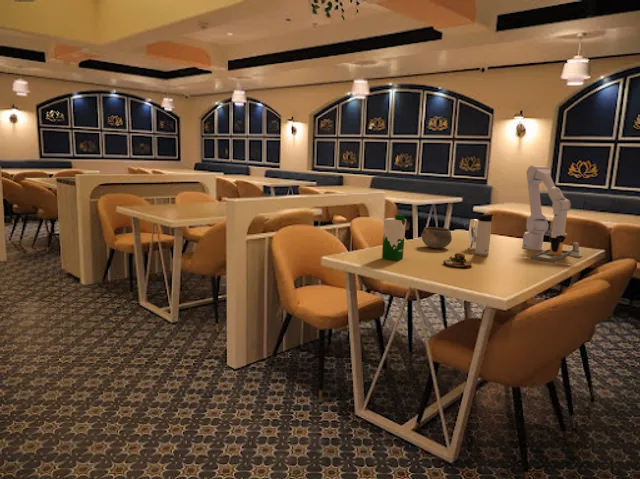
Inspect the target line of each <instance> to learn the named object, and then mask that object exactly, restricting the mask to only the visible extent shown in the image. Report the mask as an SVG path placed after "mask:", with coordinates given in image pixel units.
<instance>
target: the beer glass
mask: <svg viewBox="0 0 640 479" xmlns="http://www.w3.org/2000/svg"><path fill="white" fill-rule="evenodd" d="M478 219H479V218H478ZM478 219H477V218H476V219H475V218H473V219H472V218H471V219H470V221H469V227H468V234H469V242H468V243H469V244H468V247H467V248H468V249H469V250H474V251H475V247H476V237H477V227H478Z"/></svg>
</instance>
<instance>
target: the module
mask: <svg viewBox="0 0 640 479" xmlns="http://www.w3.org/2000/svg"><path fill="white" fill-rule="evenodd" d="M563 246H564V242H563V243H562V242H560V244H559V247H558V250H557V252H555V251H552V246H551V245H550V248H549V249H550V254H555V255H562V250H563V248H564V247H563Z"/></svg>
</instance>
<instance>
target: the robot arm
mask: <svg viewBox="0 0 640 479" xmlns="http://www.w3.org/2000/svg"><path fill="white" fill-rule="evenodd" d="M551 171H552V170H550V167H549V166H547V165H530V166H528V168H527V169H526V171H525V172H526V181H527V190H528V199H529V210H530V215H529V216H528V217H527V218H526V224H525V227H526V228H525V229H526V230H527V231H525V232H524V233H523V237H522V244H521V245H522V246H521V249H528V250H535V251H542V250H543V251H544V250H545V247H544V248H543V244H544V235H545V234H546V232H547V231H548V230H549V223H548V220H547V217H546V215H544V214H543V212H542V210H543V209H542V201H541V192H540V184H541V183H543V184H544V185H545V187H546V189H547V190H548V191H547V195H548V197H549V199H550V200H551V202H552V205H551V206H552V210H553V212H552V213H553V221H552V227H551V228H552V231H551V236H549V242H550V246H552V251H555V252H557V250H558V247H559V244H560V242H562V243H563V244H564V241H565V240H566V238H567V235H568V233H566V226H567V225H566V224H567V220H568V219H567V217H568V211H569V210H571V207H572V203H571V200H570V199H567V198H566V197H565V196H564V194H563V192H562V190H561V188H559V187H556V185H555V183H554V180H553V178H552V176H551V173H552V172H551Z"/></svg>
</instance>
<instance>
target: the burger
mask: <svg viewBox="0 0 640 479" xmlns="http://www.w3.org/2000/svg"><path fill="white" fill-rule="evenodd" d="M442 262H443V264H446V265H448V266H452V267H458V268H459V267H460V268H463V267H465V268H466V270H467V269H470V268H473V266H472V262H470V261H467V259H466V255H465V254H464V253H463V250H461V251H459V252H455V253H454V256H453V257H452V255H450V256H449V258H448V259H444V260H443V261H442Z"/></svg>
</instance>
